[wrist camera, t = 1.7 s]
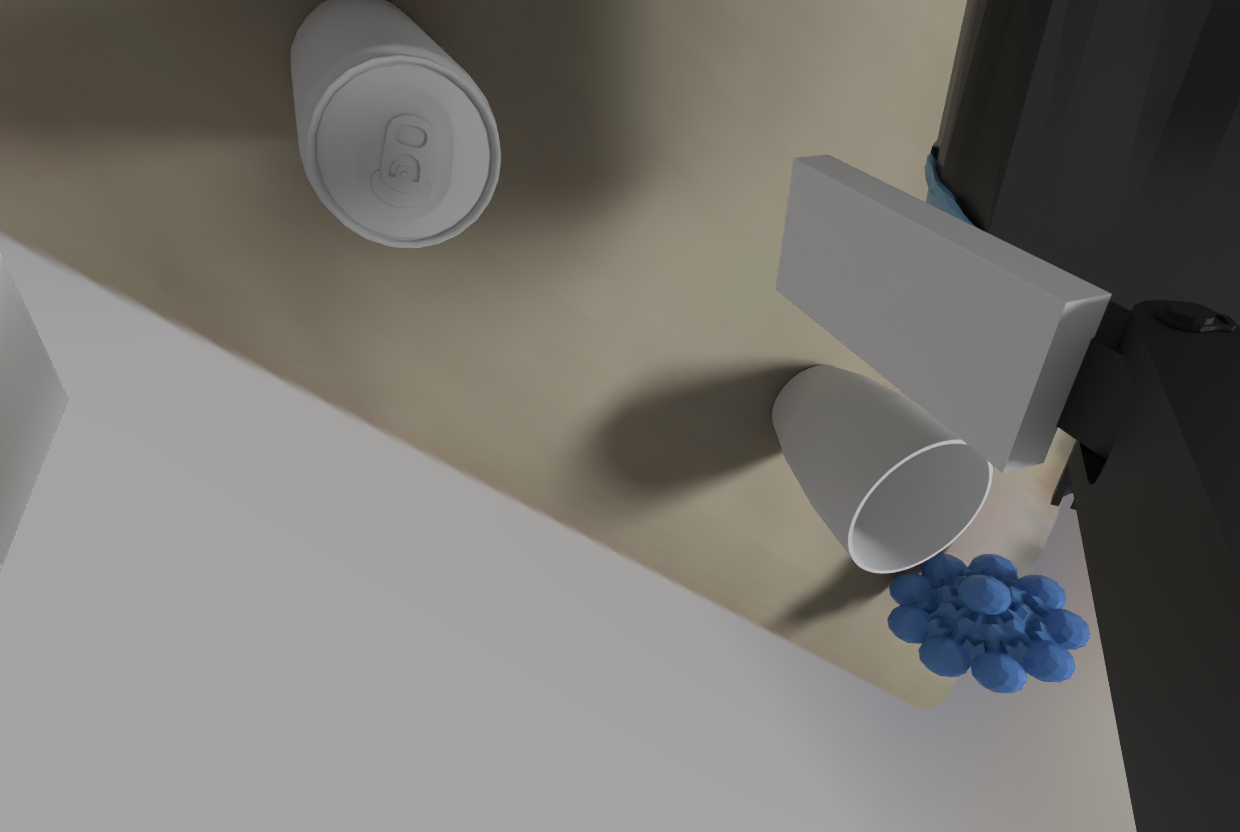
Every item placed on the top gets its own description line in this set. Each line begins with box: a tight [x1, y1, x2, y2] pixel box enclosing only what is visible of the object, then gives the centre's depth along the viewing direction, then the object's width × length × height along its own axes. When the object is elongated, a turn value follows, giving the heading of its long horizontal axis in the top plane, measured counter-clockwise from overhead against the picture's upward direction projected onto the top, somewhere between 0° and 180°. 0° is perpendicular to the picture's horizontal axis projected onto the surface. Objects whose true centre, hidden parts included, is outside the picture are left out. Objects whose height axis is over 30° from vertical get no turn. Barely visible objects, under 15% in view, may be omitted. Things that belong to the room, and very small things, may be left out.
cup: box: [772, 365, 993, 573], centre depth 41 cm, size 8×8×10 cm
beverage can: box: [291, 0, 501, 248], centre depth 23 cm, size 5×5×12 cm
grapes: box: [888, 554, 1090, 693], centre depth 53 cm, size 12×7×12 cm, turn 105°
